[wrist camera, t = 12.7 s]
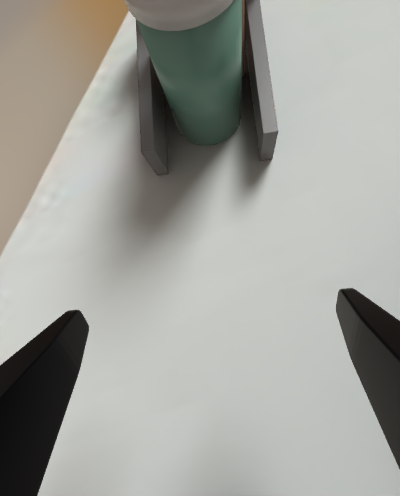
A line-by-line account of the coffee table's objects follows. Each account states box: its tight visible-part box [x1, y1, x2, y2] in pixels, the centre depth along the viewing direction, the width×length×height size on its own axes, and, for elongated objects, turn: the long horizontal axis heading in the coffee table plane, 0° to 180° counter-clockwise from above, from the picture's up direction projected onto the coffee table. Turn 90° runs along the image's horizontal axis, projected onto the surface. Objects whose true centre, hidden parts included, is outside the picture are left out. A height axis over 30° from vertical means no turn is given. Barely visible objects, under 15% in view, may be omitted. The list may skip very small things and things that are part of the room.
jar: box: [125, 0, 242, 145], centre depth 19 cm, size 6×6×12 cm
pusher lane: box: [136, 0, 278, 175], centre depth 22 cm, size 15×10×7 cm, turn 4°
